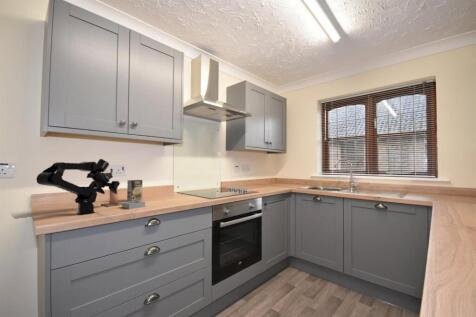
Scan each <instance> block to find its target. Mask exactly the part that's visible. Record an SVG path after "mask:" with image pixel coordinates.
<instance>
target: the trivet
mask: <svg viewBox="0 0 476 317" xmlns="http://www.w3.org/2000/svg"><path fill="white" fill-rule="evenodd" d="M118 206H119V207H120V206H122V201H118V204H113V205H110V202H108V203H101V204H100V207H107V208H110V207H118Z"/></svg>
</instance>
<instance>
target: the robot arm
mask: <svg viewBox="0 0 476 317" xmlns="http://www.w3.org/2000/svg"><path fill="white" fill-rule="evenodd" d="M109 166H110V163H109V162H108V161H106V160H105V159H103V158H99V160H98V161H97V162H96V161H82V162H64V161H62V162H58V161H57V162H54V163H53V164H52V165H51V166H49V167H47V168H46V169H44V170H43V171H41V172H40V173H38V175H37V176H36V183H37V184H39V185H40V186H49V187H56V188H58V189H61V190H63V191H67V192H69V193H72V194H74V195H76V198H75V200H74V203H75V204H78V206H77V207H78V210H77V212H76V213H77V215H80V216H81V215H83V216H84V215H89V214H94V212H95V210H94V207H95V206H94V203H95V202H96V199H97V197H98V193H99V194H102V195H105V194H106V191H104V189H103V188H105V187H108V190H109V192H110V191H111V192H113V193H115V194H117V187H118V188H119V186H120V185H121V182H120V181H119V180H112V181H111V182H110V180H111V179H113V177H114V176H113V173H112V172H105V171H106V170H107V168H108V167H109ZM65 170H66V171H67V170H68V171H69V170H70V171H72V170H73V171H74V170H75V171H77V170H78V171H81V172H87V175H86V178H87V179H92V181H91V182H90V184H89V185H88V186H80V185H76V184H75V183H72V182H70V181H67V180H66V179H63V176H64V173H65ZM88 172H89V173H88Z"/></svg>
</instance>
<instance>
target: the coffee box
mask: <svg viewBox="0 0 476 317" xmlns="http://www.w3.org/2000/svg"><path fill="white" fill-rule="evenodd" d="M130 201H143V179H129V180H127V190H126V202H130Z"/></svg>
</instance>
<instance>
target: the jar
mask: <svg viewBox="0 0 476 317" xmlns="http://www.w3.org/2000/svg"><path fill="white" fill-rule="evenodd" d="M118 202H119V186H118V187H117V194H115V193H113V192H111V191H110V190H109V203H110V205H113V204H118Z"/></svg>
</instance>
